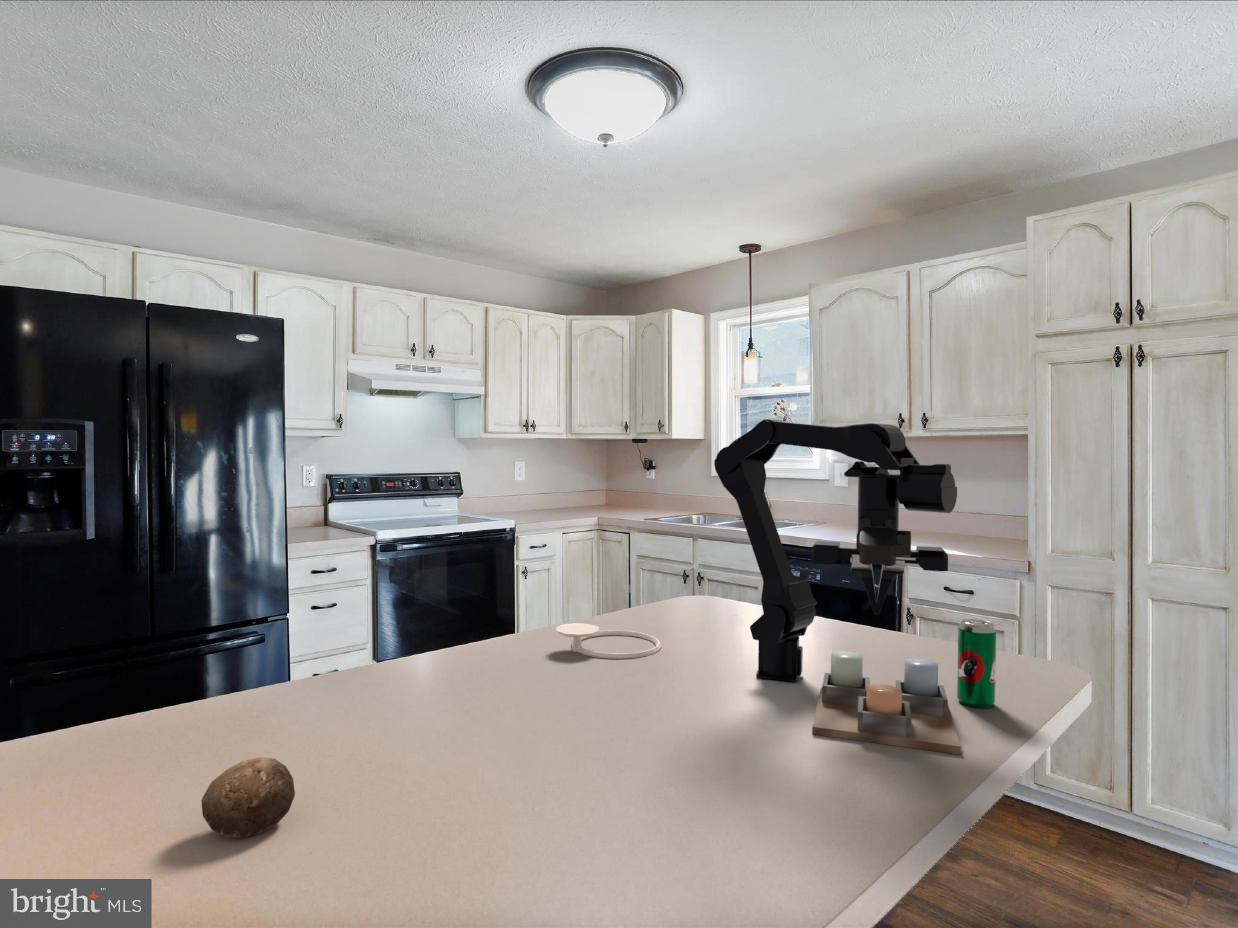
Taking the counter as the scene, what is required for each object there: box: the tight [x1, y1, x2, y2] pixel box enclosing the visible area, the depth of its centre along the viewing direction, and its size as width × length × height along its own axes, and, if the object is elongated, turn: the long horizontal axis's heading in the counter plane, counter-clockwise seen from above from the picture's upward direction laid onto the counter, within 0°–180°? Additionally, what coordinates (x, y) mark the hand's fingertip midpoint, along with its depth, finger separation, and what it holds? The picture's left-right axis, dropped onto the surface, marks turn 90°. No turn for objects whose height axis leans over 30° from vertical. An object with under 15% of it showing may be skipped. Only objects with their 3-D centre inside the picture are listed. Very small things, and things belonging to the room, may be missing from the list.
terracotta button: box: [866, 683, 902, 716], centre depth 94 cm, size 4×4×4 cm
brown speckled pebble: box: [201, 756, 296, 839], centre depth 70 cm, size 8×8×6 cm
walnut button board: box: [811, 672, 962, 755], centre depth 98 cm, size 18×16×3 cm
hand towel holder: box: [555, 622, 662, 660], centre depth 134 cm, size 17×4×20 cm
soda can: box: [956, 618, 997, 709], centre depth 105 cm, size 5×5×12 cm
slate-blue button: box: [903, 657, 939, 696], centre depth 101 cm, size 4×4×4 cm
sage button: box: [830, 650, 864, 688], centre depth 104 cm, size 4×4×4 cm
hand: (876, 613), depth 106 cm, fingers closed
